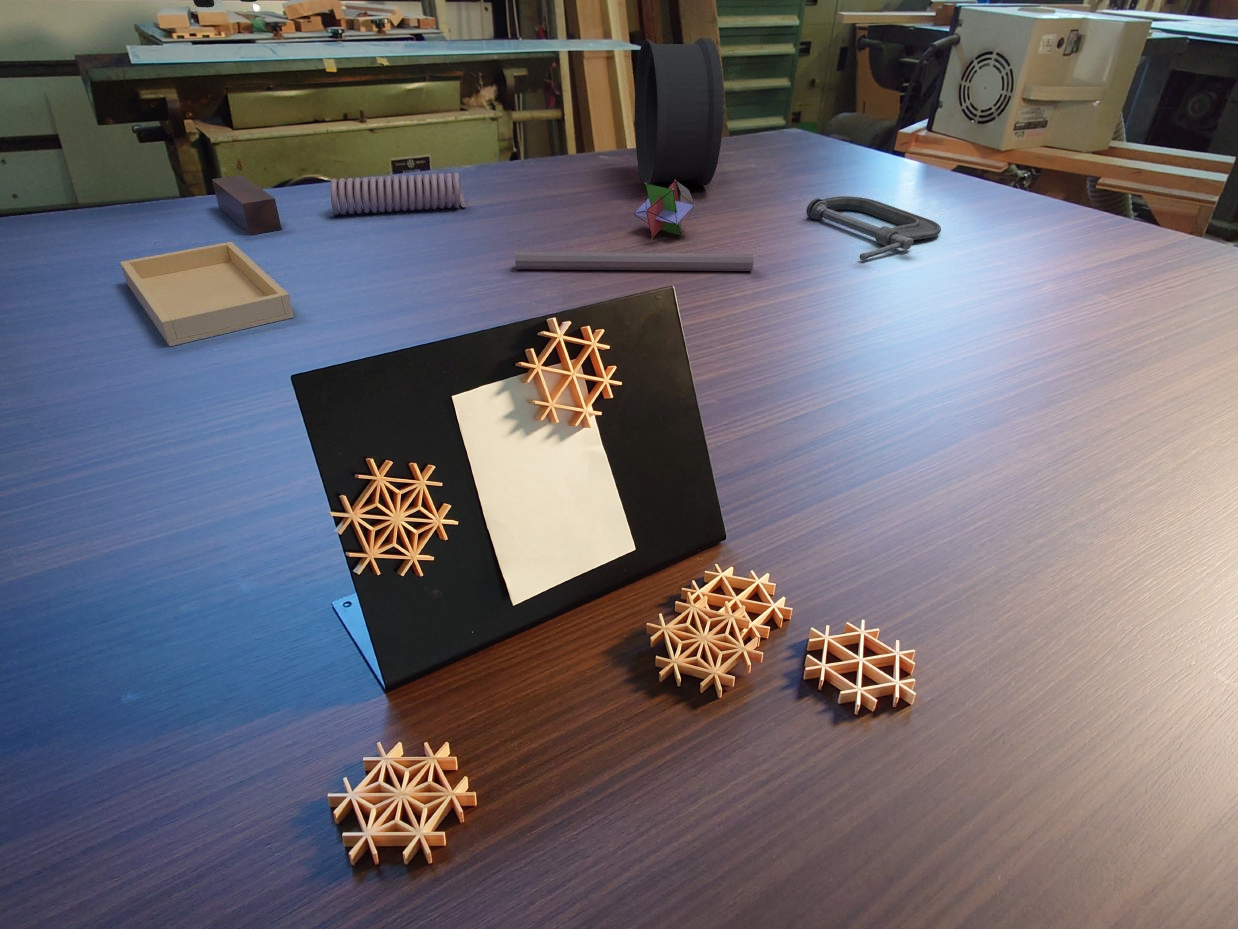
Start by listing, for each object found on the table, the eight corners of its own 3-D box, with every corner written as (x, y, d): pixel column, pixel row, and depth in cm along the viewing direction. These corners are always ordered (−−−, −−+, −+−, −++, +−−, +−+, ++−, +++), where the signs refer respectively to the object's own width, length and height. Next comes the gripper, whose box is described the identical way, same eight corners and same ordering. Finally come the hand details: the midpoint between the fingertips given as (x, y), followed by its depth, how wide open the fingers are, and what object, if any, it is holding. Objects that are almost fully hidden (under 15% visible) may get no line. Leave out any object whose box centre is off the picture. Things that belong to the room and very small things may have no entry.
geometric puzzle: (661, 233, 98) (686, 171, 98) (617, 221, 101) (641, 161, 101) (685, 255, 104) (709, 197, 104) (642, 244, 107) (665, 187, 107)
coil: (325, 186, 105) (465, 179, 109) (326, 173, 109) (461, 167, 113) (332, 220, 108) (468, 212, 112) (333, 207, 112) (464, 199, 115)
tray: (169, 346, 75) (161, 321, 74) (126, 283, 88) (119, 261, 87) (294, 317, 81) (288, 293, 80) (237, 262, 94) (231, 241, 93)
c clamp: (970, 244, 102) (975, 222, 101) (862, 263, 96) (866, 240, 95) (865, 202, 117) (868, 183, 116) (766, 216, 111) (768, 196, 110)
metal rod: (752, 273, 93) (753, 256, 92) (515, 271, 92) (514, 254, 91) (749, 267, 94) (751, 251, 93) (517, 265, 94) (516, 249, 93)
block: (250, 235, 102) (242, 203, 100) (219, 208, 111) (211, 179, 109) (281, 229, 104) (275, 198, 102) (249, 204, 113) (242, 174, 111)
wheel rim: (716, 201, 117) (728, 47, 106) (655, 203, 116) (660, 47, 105) (687, 167, 134) (695, 30, 122) (633, 168, 132) (635, 30, 121)
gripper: (201, -160, 95) (236, -1, 104) (113, -173, 83) (160, 7, 92) (259, -160, 94) (288, 1, 103) (176, -173, 82) (218, 10, 91)
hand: (227, 4), depth 97 cm, fingers open, 8 cm apart
